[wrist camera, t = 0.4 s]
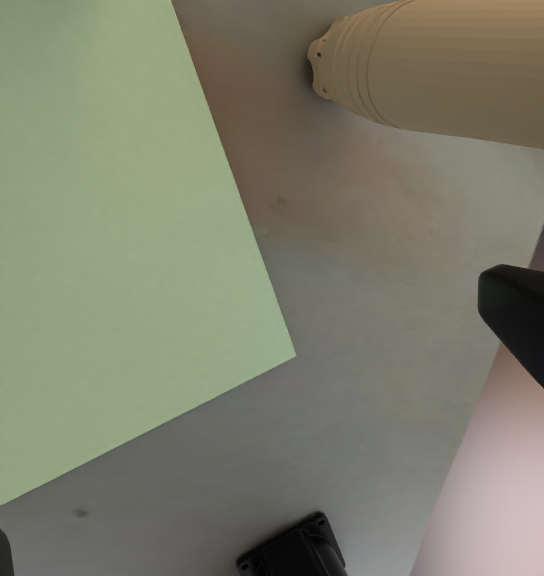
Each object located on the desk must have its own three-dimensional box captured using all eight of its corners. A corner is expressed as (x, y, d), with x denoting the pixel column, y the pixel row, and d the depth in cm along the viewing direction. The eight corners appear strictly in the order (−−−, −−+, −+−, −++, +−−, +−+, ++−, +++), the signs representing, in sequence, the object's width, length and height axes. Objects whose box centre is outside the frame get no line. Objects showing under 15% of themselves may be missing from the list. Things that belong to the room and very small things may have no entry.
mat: (294, 352, 27) (297, 356, 27) (1, 499, 24) (1, 506, 24) (135, -94, 17) (136, -97, 16) (-400, 74, 14) (-411, 75, 14)
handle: (410, 3, 22) (909, -57, 9) (357, 151, 23) (703, 275, 11) (314, -47, 19) (790, -219, 7) (264, 121, 21) (561, 232, 9)
